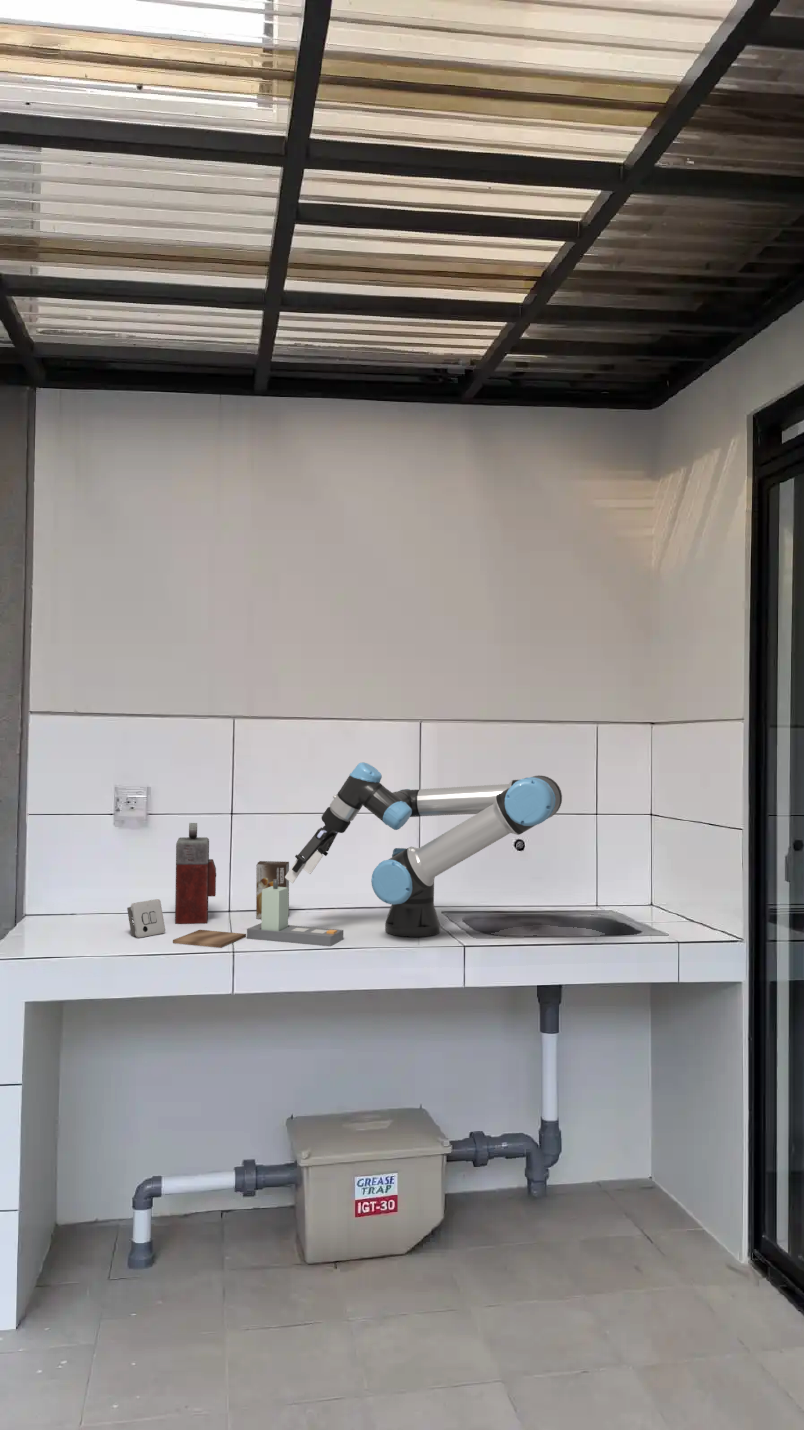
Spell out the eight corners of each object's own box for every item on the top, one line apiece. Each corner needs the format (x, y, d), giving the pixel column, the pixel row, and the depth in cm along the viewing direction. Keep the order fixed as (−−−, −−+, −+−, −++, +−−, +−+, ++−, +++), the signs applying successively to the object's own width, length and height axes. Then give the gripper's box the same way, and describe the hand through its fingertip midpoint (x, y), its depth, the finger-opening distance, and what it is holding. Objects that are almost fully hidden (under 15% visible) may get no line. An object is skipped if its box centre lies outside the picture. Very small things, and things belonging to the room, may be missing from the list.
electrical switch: (137, 939, 288) (136, 903, 288) (125, 938, 291) (124, 903, 291) (166, 933, 295) (164, 899, 295) (154, 932, 298) (152, 898, 299)
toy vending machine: (215, 923, 309) (216, 824, 309) (175, 923, 307) (176, 824, 307) (216, 917, 318) (217, 821, 318) (176, 917, 316) (178, 821, 316)
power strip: (343, 939, 291) (343, 928, 291) (330, 946, 283) (330, 934, 283) (261, 931, 299) (261, 920, 299) (246, 938, 290) (247, 927, 290)
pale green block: (287, 935, 295) (288, 878, 294) (278, 940, 289) (279, 882, 289) (271, 934, 296) (271, 877, 296) (261, 938, 291) (262, 880, 290)
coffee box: (289, 915, 322) (290, 861, 322) (286, 919, 316) (287, 864, 316) (258, 914, 323) (259, 860, 322) (255, 919, 316) (255, 863, 316)
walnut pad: (246, 936, 292) (246, 933, 292) (221, 947, 279) (221, 944, 279) (199, 932, 296) (199, 929, 296) (172, 943, 283) (172, 939, 283)
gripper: (343, 800, 307) (303, 859, 311) (313, 811, 283) (270, 875, 287) (364, 816, 306) (323, 875, 310) (336, 828, 282) (291, 892, 286)
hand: (297, 875), depth 298 cm, fingers open, 13 cm apart
